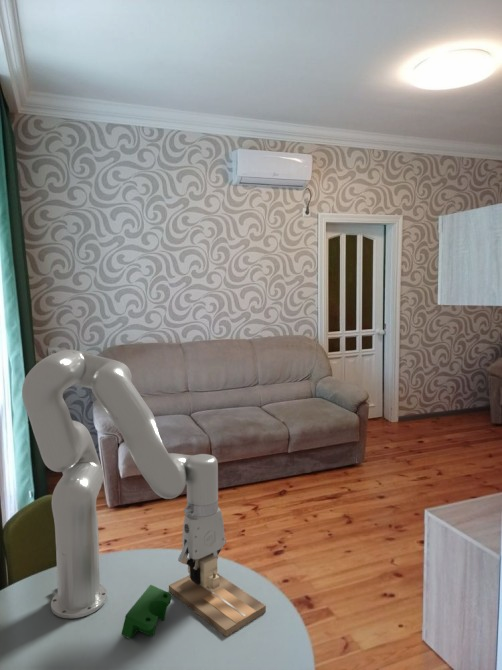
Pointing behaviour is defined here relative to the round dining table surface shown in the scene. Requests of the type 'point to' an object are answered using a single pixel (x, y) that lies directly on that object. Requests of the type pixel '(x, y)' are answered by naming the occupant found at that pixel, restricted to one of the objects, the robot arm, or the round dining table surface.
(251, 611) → the board
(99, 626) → the round dining table surface
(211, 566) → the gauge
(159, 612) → the clamp
